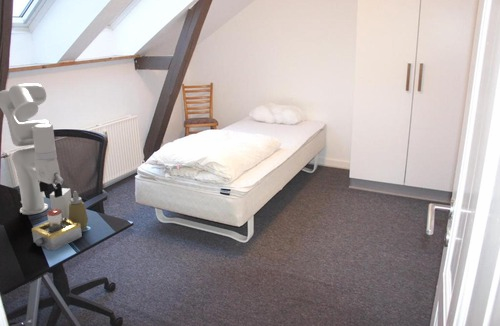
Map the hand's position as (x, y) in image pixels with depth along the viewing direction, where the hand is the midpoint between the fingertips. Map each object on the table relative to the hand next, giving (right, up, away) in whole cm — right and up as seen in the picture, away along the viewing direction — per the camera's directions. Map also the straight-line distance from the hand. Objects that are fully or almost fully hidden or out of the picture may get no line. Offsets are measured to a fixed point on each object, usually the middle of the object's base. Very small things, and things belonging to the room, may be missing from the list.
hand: (51, 193), depth 164 cm
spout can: (0, -15, +5) cm, 16 cm away
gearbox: (0, -20, +6) cm, 21 cm away
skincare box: (-5, -15, +22) cm, 27 cm away
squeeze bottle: (+4, -17, +17) cm, 25 cm away
